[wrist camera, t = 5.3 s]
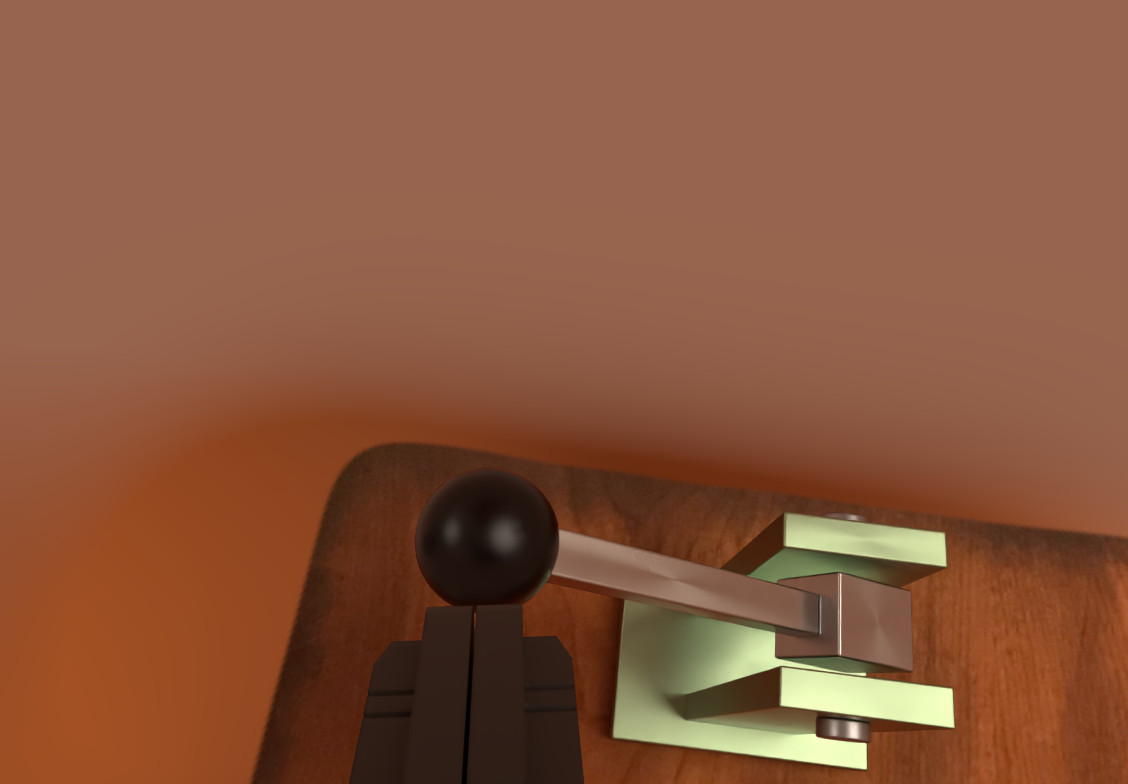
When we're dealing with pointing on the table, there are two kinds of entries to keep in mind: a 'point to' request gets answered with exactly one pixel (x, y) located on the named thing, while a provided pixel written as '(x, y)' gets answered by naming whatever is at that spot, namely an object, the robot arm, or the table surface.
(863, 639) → the switch lever
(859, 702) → the switch bracket
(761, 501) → the table surface
